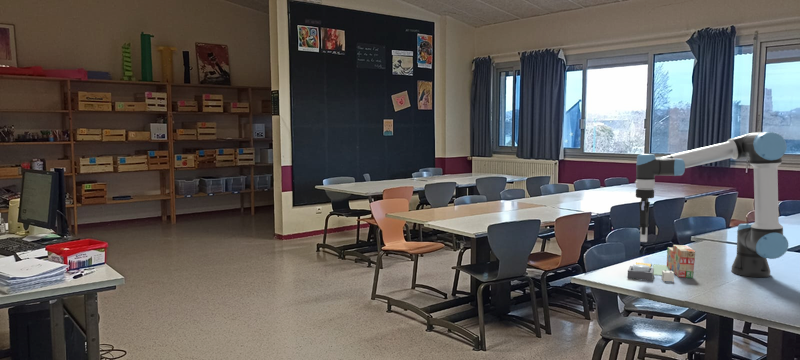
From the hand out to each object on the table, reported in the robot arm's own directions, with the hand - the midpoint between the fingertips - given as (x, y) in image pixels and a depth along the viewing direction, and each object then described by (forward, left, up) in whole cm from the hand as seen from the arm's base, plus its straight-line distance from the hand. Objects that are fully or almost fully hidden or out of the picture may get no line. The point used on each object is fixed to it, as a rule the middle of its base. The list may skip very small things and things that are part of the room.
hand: (643, 241), depth 252 cm
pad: (+2, -17, -16) cm, 24 cm away
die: (-10, +2, -16) cm, 19 cm away
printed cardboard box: (-14, -17, -16) cm, 28 cm away
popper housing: (+1, +1, -16) cm, 16 cm away
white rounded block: (+1, +1, -15) cm, 15 cm away
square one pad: (-6, -17, -16) cm, 24 cm away
